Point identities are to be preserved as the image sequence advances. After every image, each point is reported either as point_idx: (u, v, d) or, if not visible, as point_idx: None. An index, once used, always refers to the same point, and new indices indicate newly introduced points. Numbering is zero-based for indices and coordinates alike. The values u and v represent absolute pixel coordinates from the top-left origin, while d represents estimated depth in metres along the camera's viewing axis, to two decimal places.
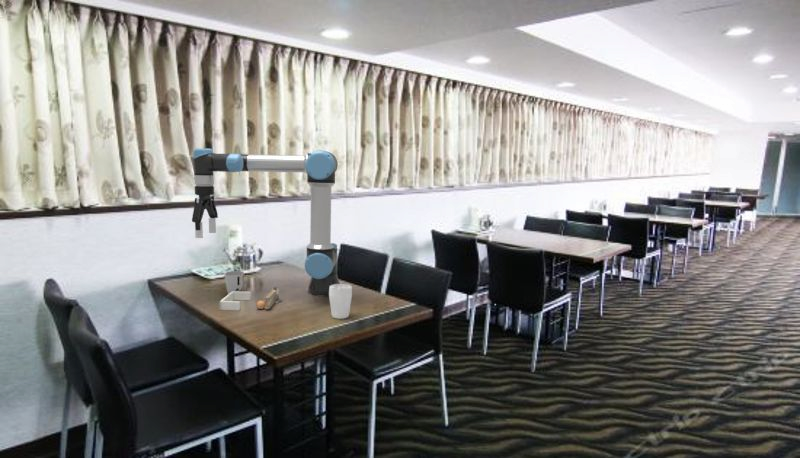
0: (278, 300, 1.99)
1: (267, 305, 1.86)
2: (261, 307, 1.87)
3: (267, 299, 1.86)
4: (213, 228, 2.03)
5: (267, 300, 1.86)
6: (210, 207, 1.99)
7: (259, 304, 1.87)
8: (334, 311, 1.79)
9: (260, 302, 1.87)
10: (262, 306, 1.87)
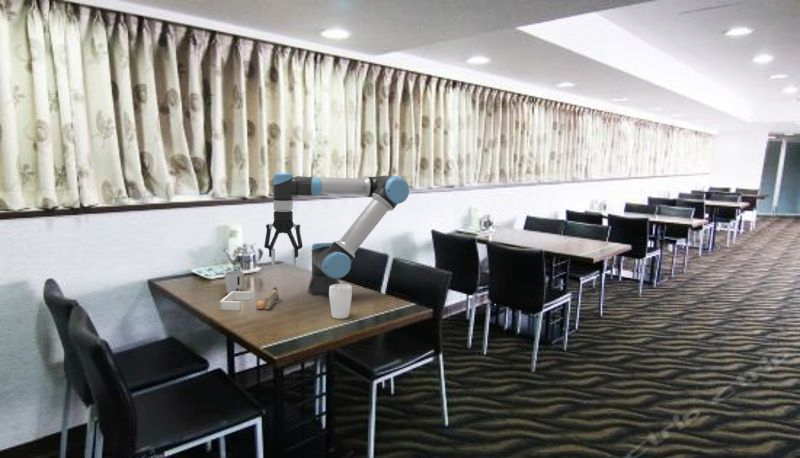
0: (278, 300, 1.99)
1: (267, 305, 1.86)
2: (261, 307, 1.87)
3: (267, 299, 1.86)
4: None
5: (267, 300, 1.86)
6: None
7: (259, 304, 1.87)
8: (334, 311, 1.79)
9: (260, 302, 1.87)
10: (262, 306, 1.87)
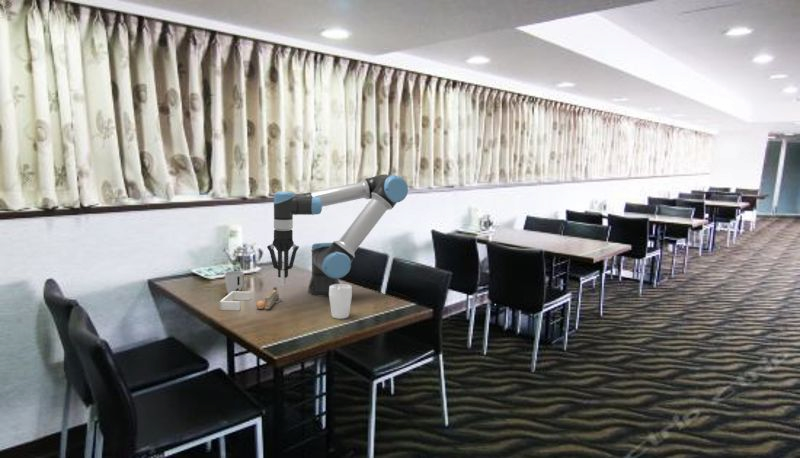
0: (278, 300, 1.99)
1: (267, 305, 1.86)
2: (261, 307, 1.87)
3: (267, 299, 1.86)
4: None
5: (267, 300, 1.86)
6: None
7: (259, 304, 1.87)
8: (334, 311, 1.79)
9: (260, 302, 1.87)
10: (262, 306, 1.87)
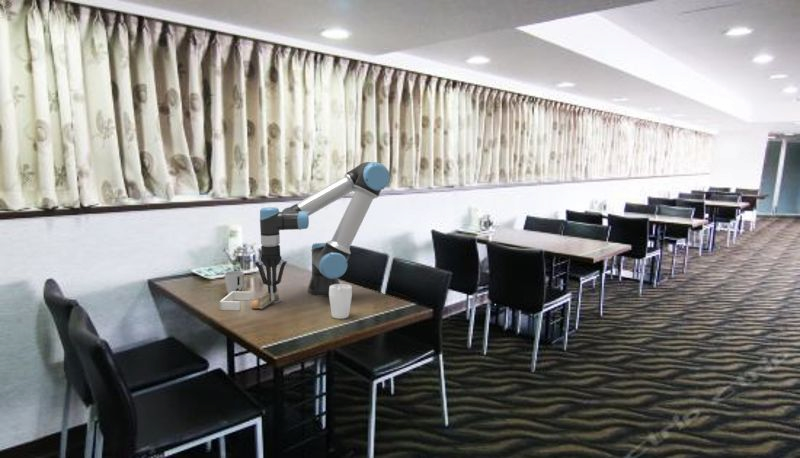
0: (278, 300, 1.99)
1: (260, 305, 1.87)
2: (256, 305, 1.87)
3: (260, 299, 1.86)
4: None
5: (260, 300, 1.86)
6: None
7: (253, 304, 1.87)
8: (334, 311, 1.79)
9: (252, 302, 1.87)
10: (256, 303, 1.87)
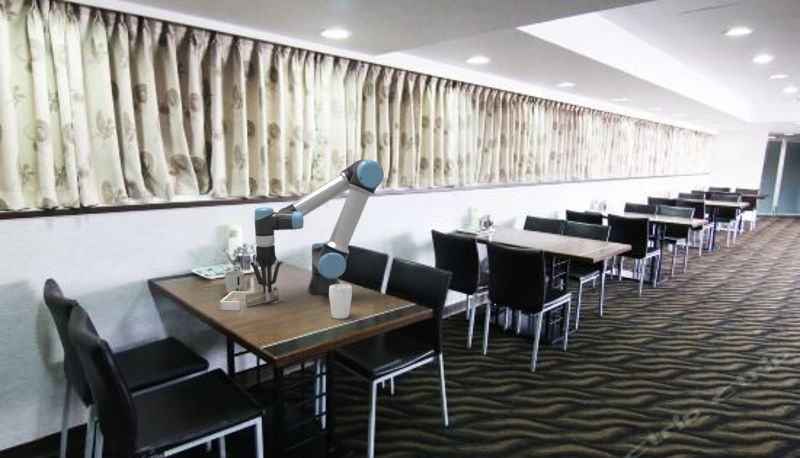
0: (278, 300, 1.99)
1: (246, 302, 1.90)
2: None
3: (247, 296, 1.89)
4: None
5: (247, 297, 1.90)
6: None
7: None
8: (334, 311, 1.79)
9: (234, 299, 1.89)
10: None
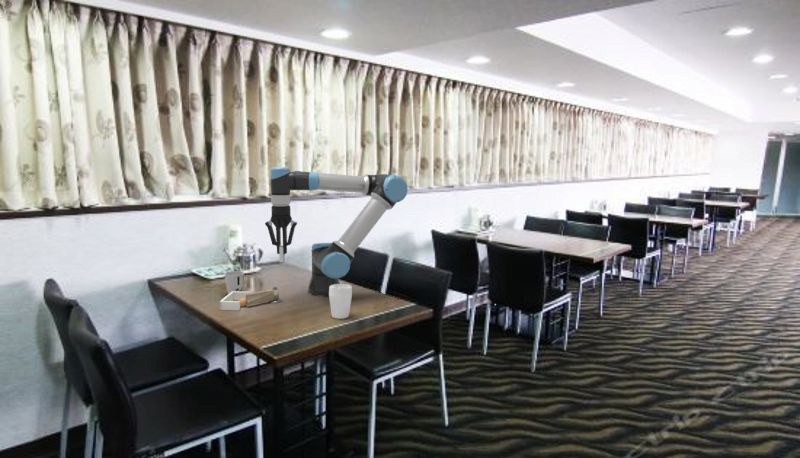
0: (278, 300, 1.99)
1: (247, 302, 1.90)
2: (241, 304, 1.89)
3: (247, 296, 1.89)
4: None
5: (247, 297, 1.89)
6: None
7: (244, 303, 1.90)
8: (334, 311, 1.79)
9: None
10: (242, 305, 1.90)
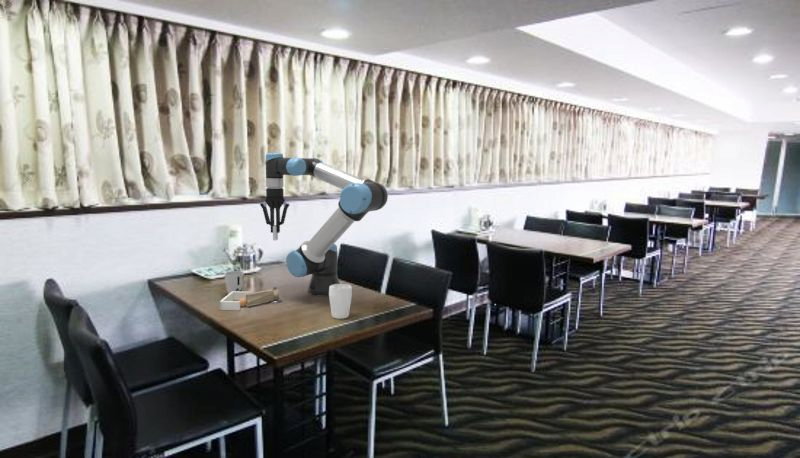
0: (278, 300, 1.99)
1: (247, 302, 1.90)
2: (241, 304, 1.89)
3: (247, 296, 1.89)
4: None
5: (247, 297, 1.89)
6: None
7: (244, 302, 1.90)
8: (334, 311, 1.79)
9: None
10: (242, 305, 1.90)
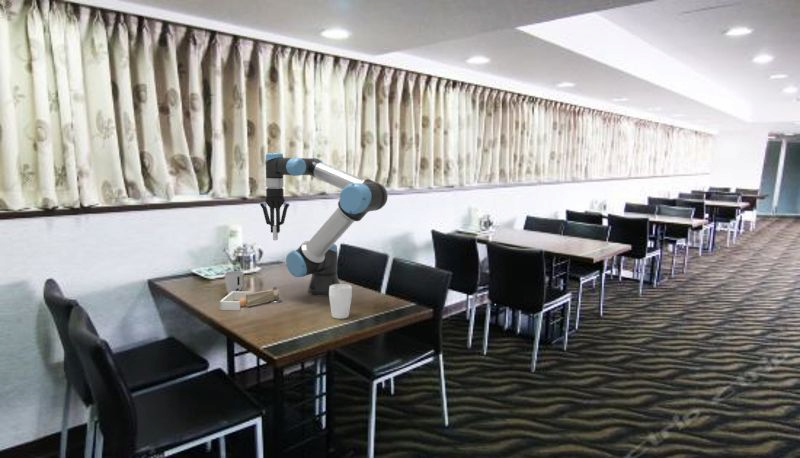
0: (278, 300, 1.99)
1: (247, 302, 1.90)
2: (241, 304, 1.89)
3: (247, 296, 1.89)
4: None
5: (247, 297, 1.89)
6: None
7: (244, 302, 1.90)
8: (334, 311, 1.79)
9: (245, 302, 1.91)
10: (242, 305, 1.90)
